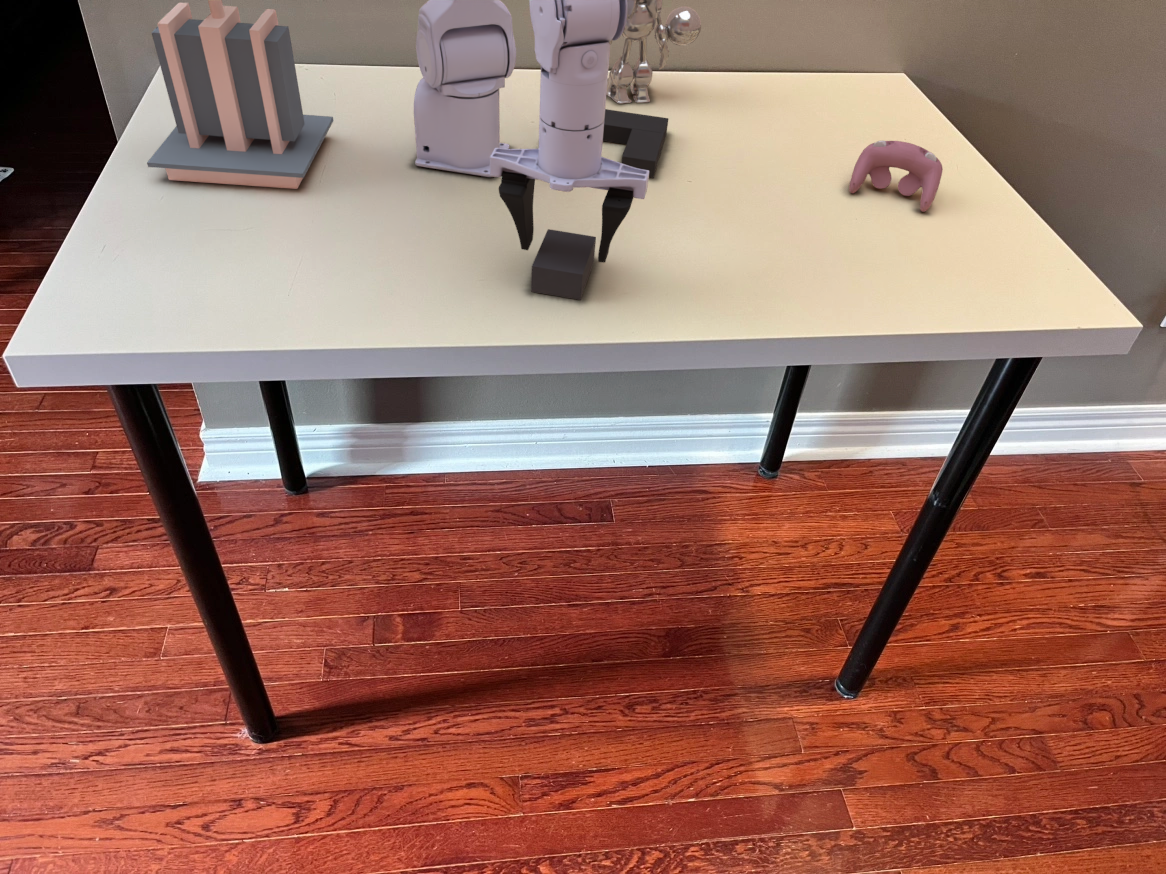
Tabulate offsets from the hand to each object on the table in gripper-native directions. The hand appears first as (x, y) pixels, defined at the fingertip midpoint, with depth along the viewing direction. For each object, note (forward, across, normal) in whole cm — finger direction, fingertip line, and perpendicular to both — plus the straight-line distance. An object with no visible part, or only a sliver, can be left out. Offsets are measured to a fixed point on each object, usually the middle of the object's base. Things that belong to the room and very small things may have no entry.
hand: (564, 250), depth 86 cm
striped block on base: (+3, -40, +13) cm, 42 cm away
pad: (+3, 0, 0) cm, 3 cm away
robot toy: (+3, +1, +46) cm, 46 cm away
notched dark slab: (+3, -1, +29) cm, 29 cm away
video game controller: (+3, +34, +28) cm, 44 cm away
